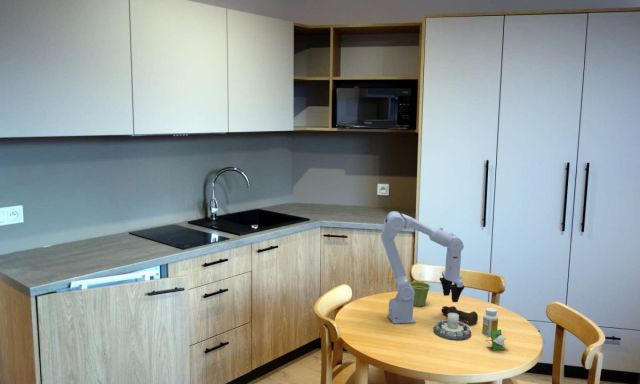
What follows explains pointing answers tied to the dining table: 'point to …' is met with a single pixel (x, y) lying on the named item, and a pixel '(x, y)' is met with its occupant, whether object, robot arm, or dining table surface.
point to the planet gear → (452, 324)
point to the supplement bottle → (490, 321)
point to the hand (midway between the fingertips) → (450, 298)
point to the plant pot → (420, 293)
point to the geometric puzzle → (497, 339)
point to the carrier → (450, 335)
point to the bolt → (462, 314)
